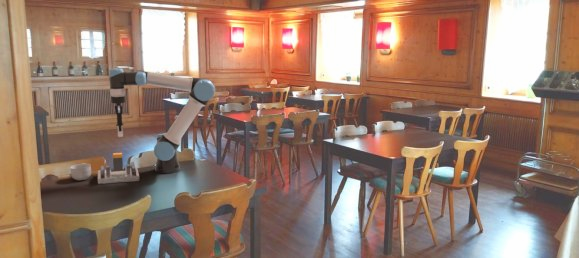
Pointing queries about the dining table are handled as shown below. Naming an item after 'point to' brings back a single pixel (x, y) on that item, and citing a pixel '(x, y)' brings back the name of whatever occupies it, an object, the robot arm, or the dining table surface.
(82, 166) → the teacup
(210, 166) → the dining table surface
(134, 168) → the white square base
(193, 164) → the dining table surface
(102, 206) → the dining table surface
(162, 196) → the dining table surface
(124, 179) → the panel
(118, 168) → the lever
